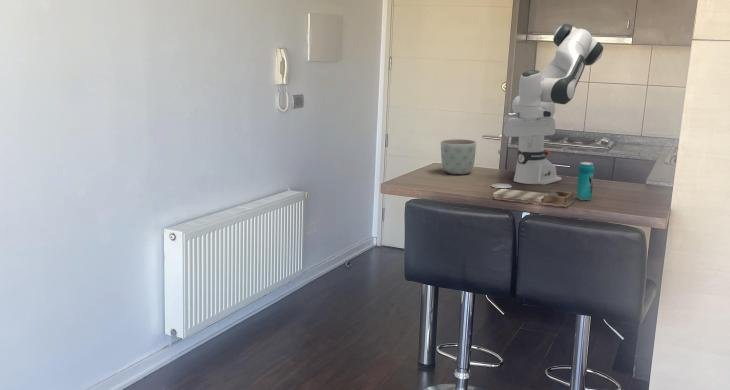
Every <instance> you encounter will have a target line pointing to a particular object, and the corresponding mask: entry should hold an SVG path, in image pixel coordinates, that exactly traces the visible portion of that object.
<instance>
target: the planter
mask: <svg viewBox="0 0 730 390" xmlns="http://www.w3.org/2000/svg"><path fill="white" fill-rule="evenodd" d="M476 147H477V142H476V140H472V139H465V138H463V139H461V138H453V139H443V140H441V141H440V154H441V155H440V156H441V157H440V158H441V165H442V168H443V170H444V171H445V172H446V173H448V174H449V175H456V174H461V175H466V174H469V173H470V172H471V171H472V170H473V169H474V166H475V160H476V159H475V158H476V149H477V148H476Z"/></svg>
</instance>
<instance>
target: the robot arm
mask: <svg viewBox="0 0 730 390" xmlns="http://www.w3.org/2000/svg"><path fill="white" fill-rule="evenodd" d="M552 40H553V43H554V44H555V45H556V46H557V48H556V52H555V56H554V57H553V58H552V59H551V61H550V62H549V63H548V64H547V66H546V67H545V69H544V70H543V72H542V73H541V71H539V70H536V69H535V70H532V69H531V70H526V71H523V72H522V73H521V75H520V77H519V84H518V95H517V96H515V98H514V99H513V101H512V102H511V103H512V104H511V108H512V109H511V110H512V111H513V113H507V114H506V115H505V116H504V117H503V125H504V126H503V135H504V136H505V137H506V138H514V137H515V138H518V150H517V153H516V158H517V162H516V165H515V166H516V167H515V173H514V176H513V182H516V183H519V184H527V185H550V184H551V183H556V182H559V181H562V180H563V178H562V177H561V176H559V175H558V174H557V168H556V165H555V164H553V163H552V162H550V160H548V159H547V157H549V156H550V155H551V151H550V150H546V151H545V150H544V149H545V147H544V146H545V145H544V144H545V136H554V135H555V134H556V120H555V118H554V116H555V115H554V114H555V112H556V104H557V105H567V104H568V103H569V102H571V100H572V99H573V98H574V96H575V91H576V88H577V85H578V84H579V81H580V79H581V77H582V75H583V72H584V70H585V67H586V66H591V65H594V64H595V63H597V62H598V61H599V60H600V59H601V57H602V55H603V52H604V46H603V45H602V44H601V42H599V41H597V40H596V39H595V38H594V37H593V36H592V35H591V33H590V32H589V31H588V30H587V29H585V28H577V27H575V26H573V24H570V23H563V24H562V25H561V26H559V27H558V28H557V29H556V30H555V32H554V34H553V38H552Z"/></svg>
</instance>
